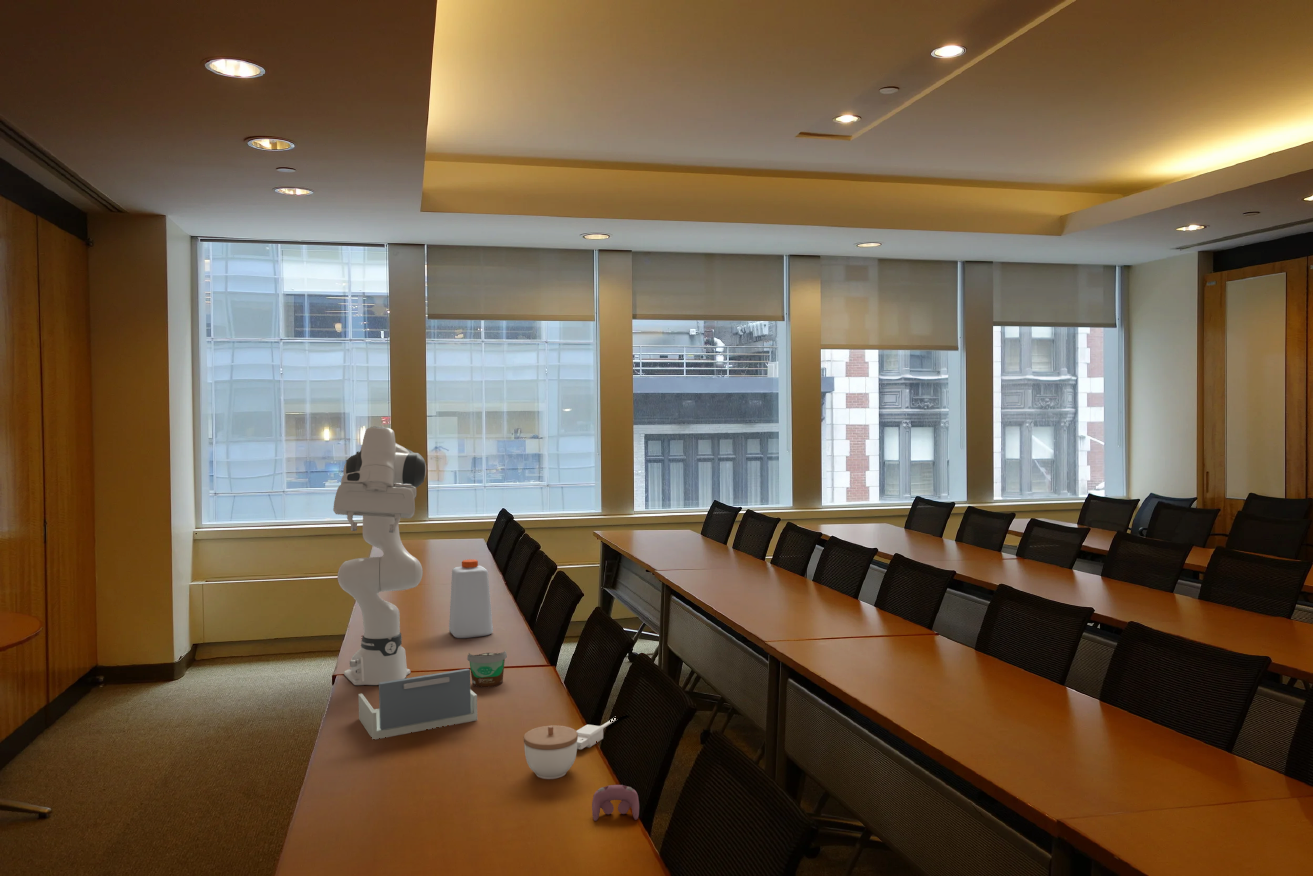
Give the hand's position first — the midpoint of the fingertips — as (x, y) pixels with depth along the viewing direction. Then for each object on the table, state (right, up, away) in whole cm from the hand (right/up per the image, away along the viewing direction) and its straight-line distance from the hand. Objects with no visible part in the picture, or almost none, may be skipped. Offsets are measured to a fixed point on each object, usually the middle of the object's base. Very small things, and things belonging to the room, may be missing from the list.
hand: (373, 531), depth 227 cm
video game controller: (+64, -56, -41) cm, 94 cm away
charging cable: (+59, -54, +7) cm, 80 cm away
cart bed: (+7, -54, +17) cm, 57 cm away
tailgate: (+12, -52, +9) cm, 54 cm away
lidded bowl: (+48, -55, -19) cm, 76 cm away
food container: (+21, -53, +47) cm, 74 cm away
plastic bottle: (+2, -51, +112) cm, 123 cm away
